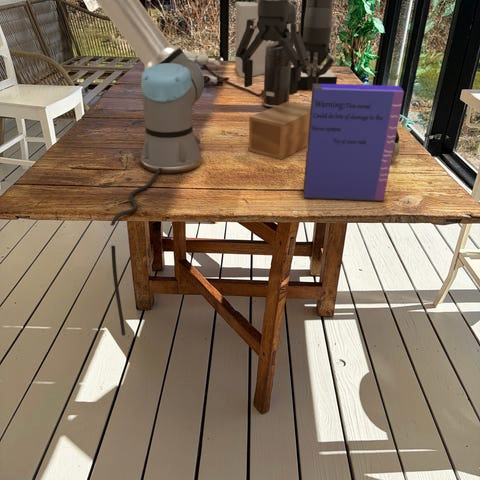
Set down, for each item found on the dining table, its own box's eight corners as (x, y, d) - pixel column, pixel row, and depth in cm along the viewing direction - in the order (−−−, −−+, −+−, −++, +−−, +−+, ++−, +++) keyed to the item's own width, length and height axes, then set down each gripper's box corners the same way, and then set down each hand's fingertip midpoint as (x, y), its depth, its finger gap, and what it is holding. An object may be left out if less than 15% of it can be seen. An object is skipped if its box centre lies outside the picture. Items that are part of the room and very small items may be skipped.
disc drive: (292, 89, 190) (292, 76, 188) (286, 77, 210) (286, 65, 207) (335, 90, 191) (337, 77, 188) (325, 77, 210) (327, 65, 208)
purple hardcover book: (379, 191, 109) (398, 84, 97) (383, 201, 105) (404, 90, 93) (303, 188, 110) (312, 82, 98) (304, 197, 106) (314, 88, 94)
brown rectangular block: (285, 133, 145) (287, 101, 140) (316, 140, 140) (319, 108, 135) (248, 150, 131) (249, 116, 127) (281, 159, 126) (283, 124, 121)
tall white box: (273, 76, 210) (276, 6, 196) (239, 77, 209) (240, 6, 194) (266, 67, 226) (268, 2, 212) (235, 67, 225) (235, 1, 210)
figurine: (151, 84, 182) (229, 91, 185) (152, 62, 179) (231, 70, 183) (156, 81, 204) (226, 88, 208) (157, 62, 201) (227, 69, 205)
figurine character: (397, 170, 124) (390, 144, 136) (403, 143, 120) (396, 119, 131) (371, 168, 125) (366, 143, 137) (376, 142, 120) (371, 118, 132)
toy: (175, 75, 210) (174, 58, 206) (151, 64, 228) (150, 49, 224) (222, 69, 222) (222, 53, 218) (195, 59, 239) (195, 45, 236)
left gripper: (328, 0, 110) (319, 94, 121) (239, -5, 122) (238, 80, 133) (313, 3, 104) (305, 100, 115) (222, -4, 116) (222, 85, 127)
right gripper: (346, 25, 129) (338, 90, 138) (303, 21, 136) (298, 83, 145) (333, 28, 124) (326, 95, 133) (289, 23, 130) (285, 88, 139)
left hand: (270, 90), depth 124 cm, fingers open, 13 cm apart
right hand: (311, 89), depth 139 cm, fingers closed
